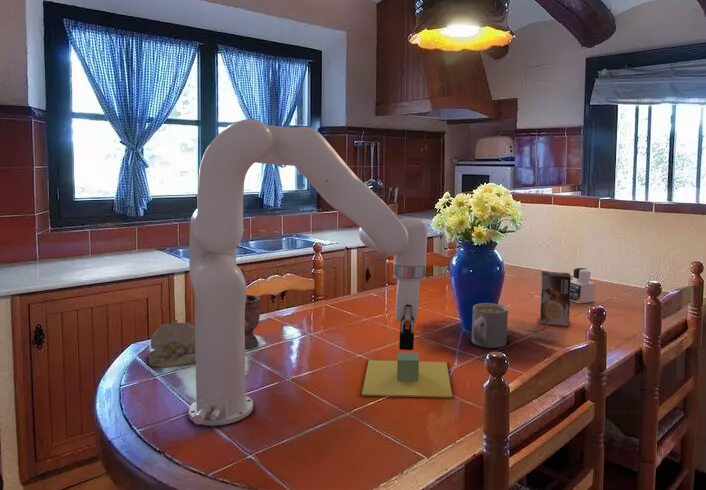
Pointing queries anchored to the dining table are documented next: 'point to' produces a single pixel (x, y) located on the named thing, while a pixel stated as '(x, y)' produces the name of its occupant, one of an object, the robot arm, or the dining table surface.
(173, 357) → the ceramic model
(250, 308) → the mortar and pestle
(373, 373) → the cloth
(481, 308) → the coffee mug
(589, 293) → the medicine bottle
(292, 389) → the dining table surface
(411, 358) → the toy block
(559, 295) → the coffee box
